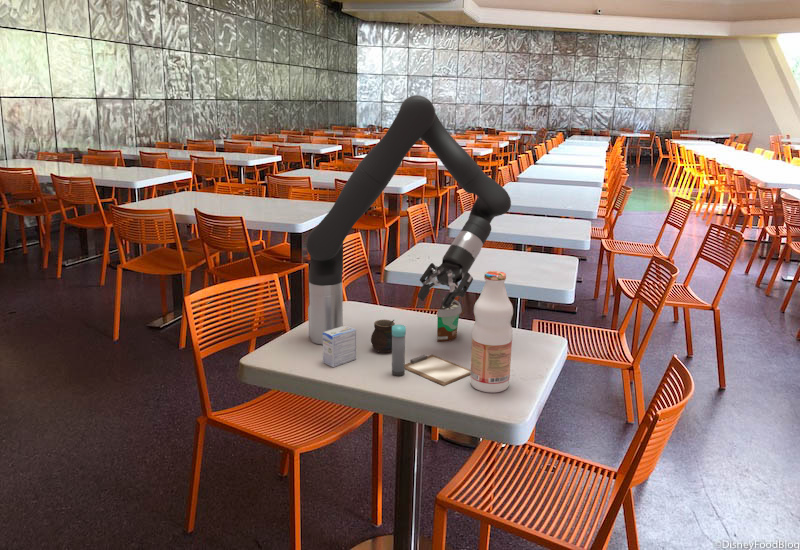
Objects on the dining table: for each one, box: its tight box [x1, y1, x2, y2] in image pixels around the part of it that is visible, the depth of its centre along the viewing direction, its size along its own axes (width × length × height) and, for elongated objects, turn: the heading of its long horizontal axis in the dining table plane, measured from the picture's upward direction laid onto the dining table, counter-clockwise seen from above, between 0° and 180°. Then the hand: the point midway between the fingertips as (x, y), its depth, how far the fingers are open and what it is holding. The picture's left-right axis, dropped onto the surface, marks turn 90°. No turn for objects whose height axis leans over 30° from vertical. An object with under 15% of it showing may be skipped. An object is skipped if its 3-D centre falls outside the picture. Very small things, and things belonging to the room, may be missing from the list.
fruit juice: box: [469, 270, 514, 394], centre depth 151 cm, size 9×9×28 cm
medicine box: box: [322, 325, 357, 368], centre depth 166 cm, size 8×4×9 cm, turn 135°
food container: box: [436, 297, 463, 343], centre depth 184 cm, size 12×6×10 cm, turn 168°
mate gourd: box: [370, 319, 396, 354], centre depth 174 cm, size 7×8×10 cm
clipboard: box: [405, 354, 471, 387], centre depth 162 cm, size 15×12×1 cm
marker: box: [391, 324, 407, 378], centre depth 158 cm, size 3×3×12 cm
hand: (431, 302), depth 163 cm, fingers open, 8 cm apart
